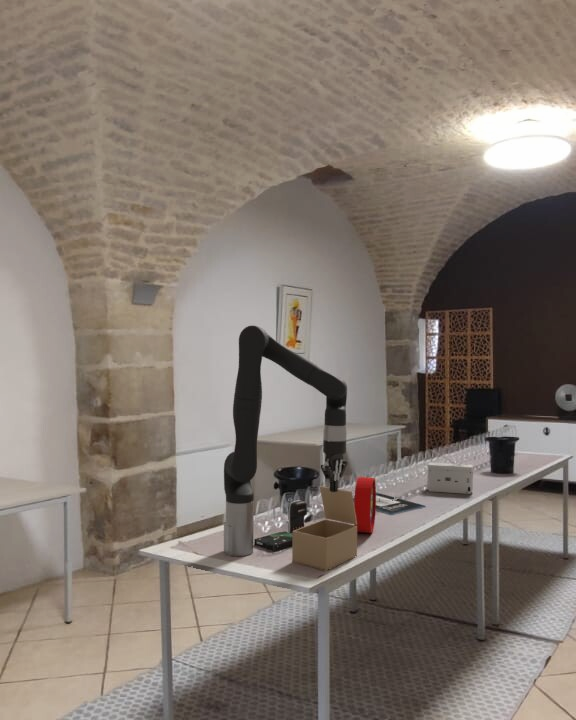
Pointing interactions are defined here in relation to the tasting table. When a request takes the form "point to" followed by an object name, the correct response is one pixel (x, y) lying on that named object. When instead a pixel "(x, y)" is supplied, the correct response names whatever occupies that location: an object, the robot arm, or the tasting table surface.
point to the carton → (324, 544)
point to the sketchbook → (394, 504)
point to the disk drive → (275, 541)
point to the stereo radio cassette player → (450, 477)
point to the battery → (296, 515)
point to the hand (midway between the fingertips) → (333, 491)
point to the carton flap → (338, 505)
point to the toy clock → (365, 504)
